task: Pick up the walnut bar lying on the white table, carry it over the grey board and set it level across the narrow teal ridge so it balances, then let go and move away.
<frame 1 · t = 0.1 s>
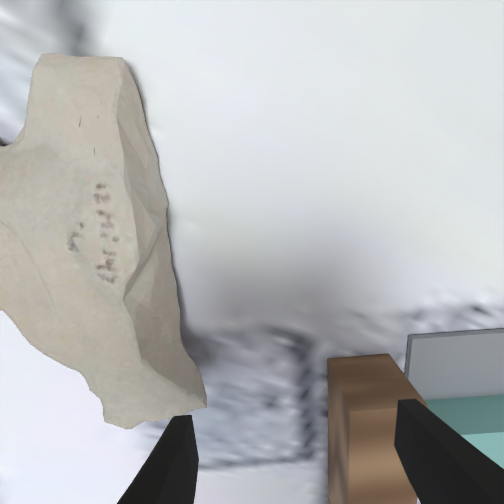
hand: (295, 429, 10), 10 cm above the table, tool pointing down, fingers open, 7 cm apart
walnut bar: (354, 432, 23), on the table
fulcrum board: (451, 409, 22), on the table
rock: (82, 249, 19), on the table
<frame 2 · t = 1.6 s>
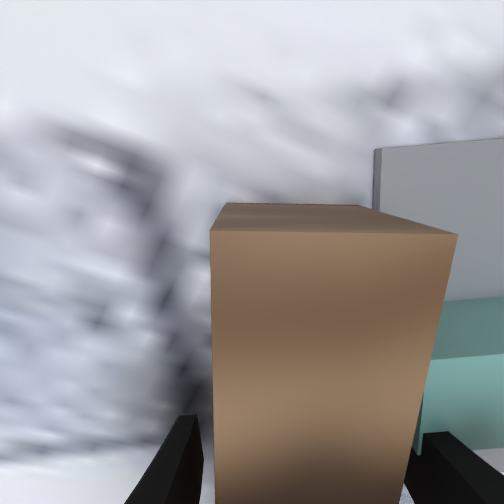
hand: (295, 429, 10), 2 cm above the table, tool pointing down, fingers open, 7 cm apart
walnut bar: (281, 383, 12), on the table
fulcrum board: (469, 329, 11), on the table
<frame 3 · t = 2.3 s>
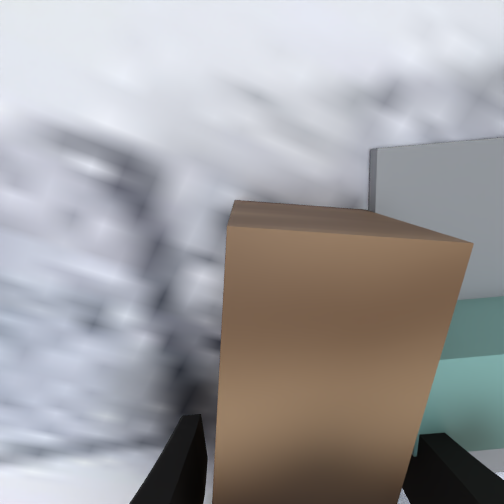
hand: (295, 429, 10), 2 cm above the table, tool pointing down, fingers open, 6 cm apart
walnut bar: (277, 384, 12), on the table
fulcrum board: (466, 329, 11), on the table
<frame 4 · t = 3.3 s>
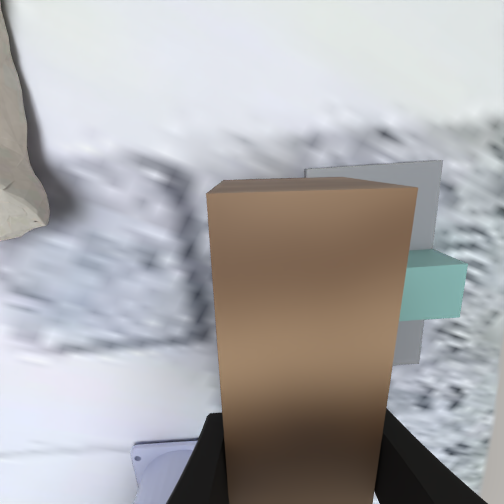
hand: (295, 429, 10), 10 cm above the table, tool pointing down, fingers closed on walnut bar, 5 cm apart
walnut bar: (281, 347, 13), point 6 cm above the table, touching gripper
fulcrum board: (365, 273, 19), on the table
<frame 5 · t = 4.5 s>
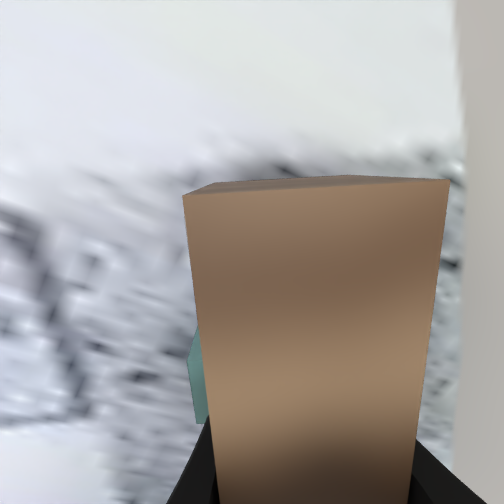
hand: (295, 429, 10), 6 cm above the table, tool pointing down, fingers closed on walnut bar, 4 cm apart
walnut bar: (286, 367, 12), point 3 cm above the table, touching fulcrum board, gripper
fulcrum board: (277, 339, 15), on the table
when the fingers open (5 cm above the table, at t = 5.0 s): walnut bar stays where it is, resting on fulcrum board.
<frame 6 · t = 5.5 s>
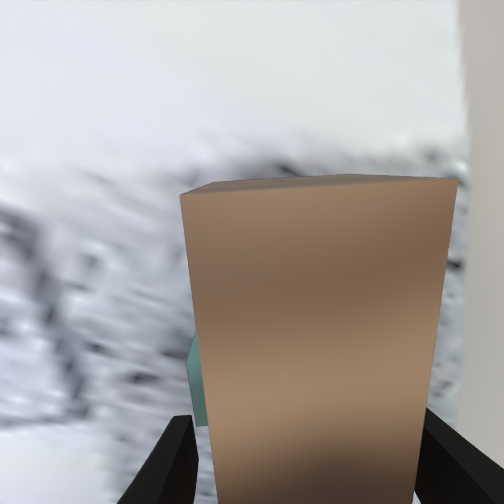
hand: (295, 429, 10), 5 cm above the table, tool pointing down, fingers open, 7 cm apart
walnut bar: (286, 369, 11), point 3 cm above the table, touching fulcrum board
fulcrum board: (278, 340, 15), on the table
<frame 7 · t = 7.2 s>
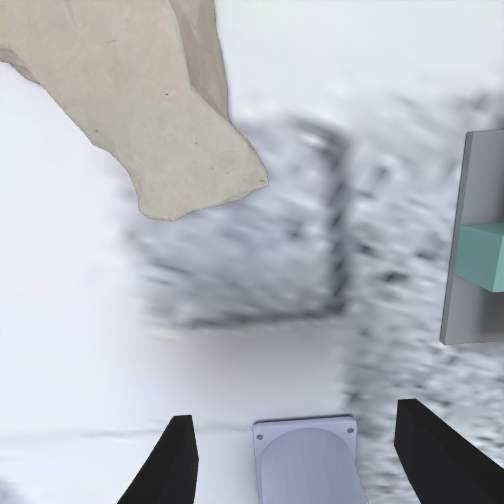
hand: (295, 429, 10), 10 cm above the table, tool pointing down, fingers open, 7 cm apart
rock: (103, 18, 15), on the table
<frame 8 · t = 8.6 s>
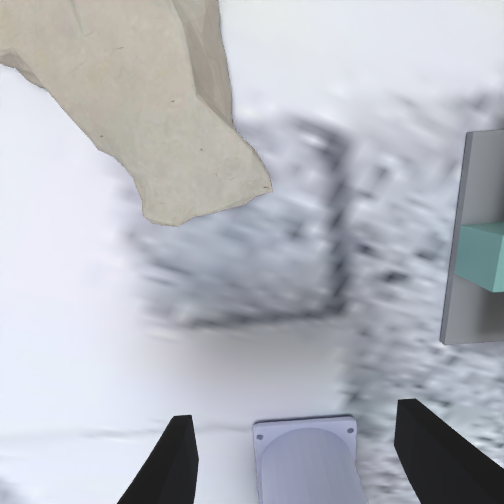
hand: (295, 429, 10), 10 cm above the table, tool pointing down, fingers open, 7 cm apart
rock: (108, 24, 15), on the table
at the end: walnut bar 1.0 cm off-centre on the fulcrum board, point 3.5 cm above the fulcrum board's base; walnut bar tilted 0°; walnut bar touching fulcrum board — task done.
